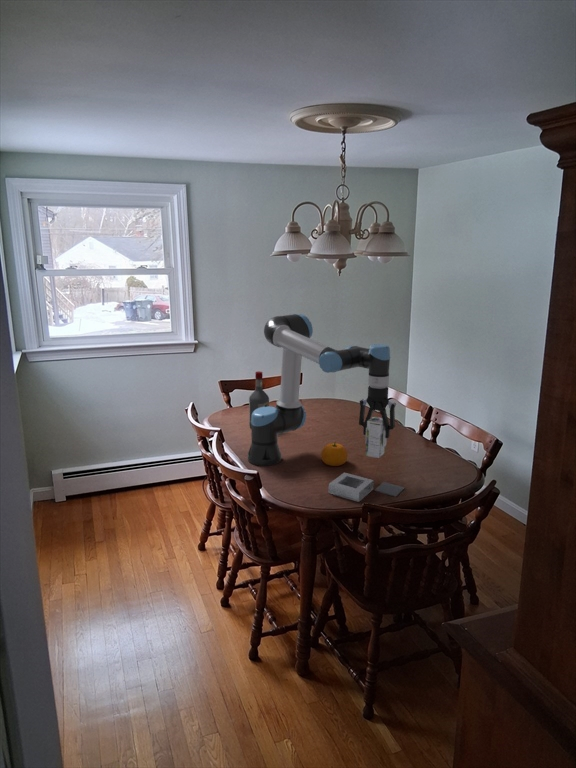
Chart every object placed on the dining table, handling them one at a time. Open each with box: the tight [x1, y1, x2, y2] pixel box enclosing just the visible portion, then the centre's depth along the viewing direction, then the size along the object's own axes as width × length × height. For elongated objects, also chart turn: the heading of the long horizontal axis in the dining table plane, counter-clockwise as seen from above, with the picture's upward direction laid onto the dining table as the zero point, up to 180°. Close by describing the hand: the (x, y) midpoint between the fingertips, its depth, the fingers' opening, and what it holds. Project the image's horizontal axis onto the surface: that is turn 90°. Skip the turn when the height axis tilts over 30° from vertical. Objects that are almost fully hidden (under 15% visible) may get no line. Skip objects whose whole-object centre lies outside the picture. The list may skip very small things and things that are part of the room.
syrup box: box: [365, 416, 386, 459], centre depth 202 cm, size 6×6×14 cm
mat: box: [373, 481, 405, 498], centre depth 209 cm, size 9×9×1 cm
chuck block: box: [328, 472, 375, 503], centre depth 207 cm, size 13×13×4 cm
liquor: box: [248, 371, 270, 429], centre depth 277 cm, size 9×9×30 cm
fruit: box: [320, 441, 349, 467], centre depth 233 cm, size 12×12×10 cm
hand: (375, 444), depth 203 cm, fingers closed on syrup box, 6 cm apart
